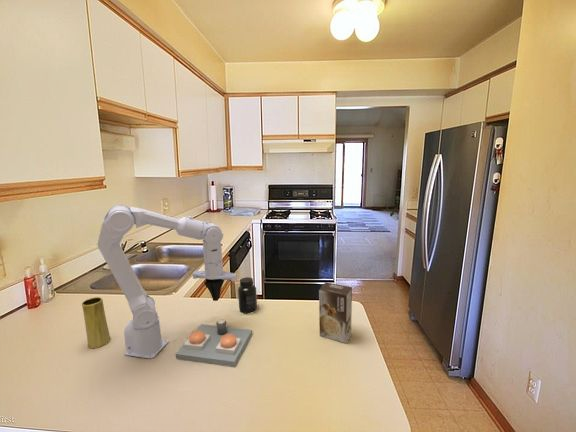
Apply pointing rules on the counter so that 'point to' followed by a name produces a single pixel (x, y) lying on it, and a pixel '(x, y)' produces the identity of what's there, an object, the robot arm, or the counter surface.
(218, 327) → the white domed button
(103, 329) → the vase
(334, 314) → the coffee box
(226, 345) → the knob
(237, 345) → the mount board
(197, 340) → the knob
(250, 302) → the supplement bottle
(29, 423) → the counter surface
